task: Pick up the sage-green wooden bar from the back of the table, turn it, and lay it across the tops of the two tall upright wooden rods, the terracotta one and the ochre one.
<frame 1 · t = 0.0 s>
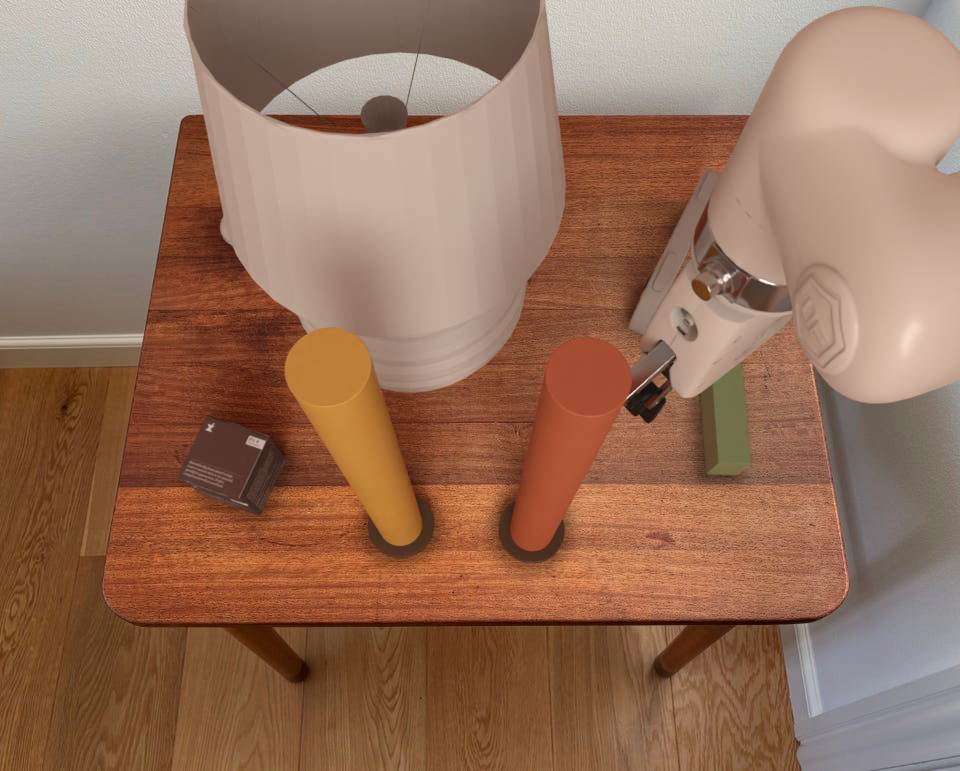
hand: (685, 367, 56), 19 cm above the table, tool pointing down, fingers open, 9 cm apart
ochre rod: (401, 525, 71), on the table
box: (246, 477, 72), on the table
terracotta rod: (531, 530, 70), on the table
green bar: (715, 396, 75), on the table
grey flat slab: (667, 271, 81), on the table
table lamp: (417, 321, 78), on the table
golf ball: (245, 239, 82), on the table
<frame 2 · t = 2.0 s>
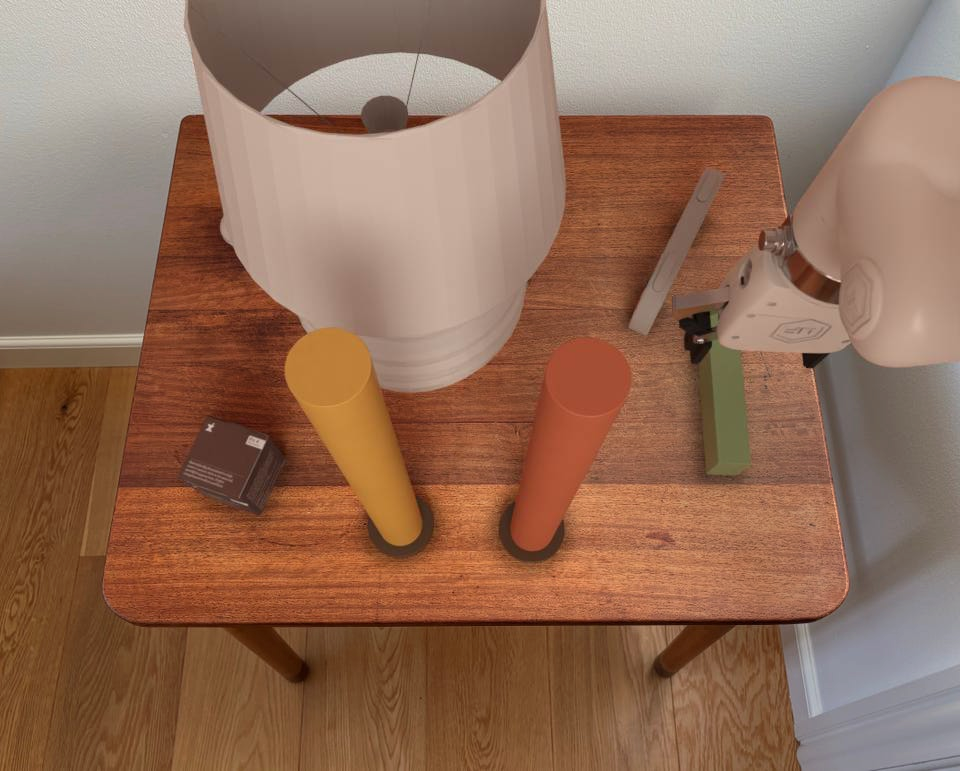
hand: (749, 350, 66), 10 cm above the table, tool pointing down, fingers open, 9 cm apart
nothing on the table moved.
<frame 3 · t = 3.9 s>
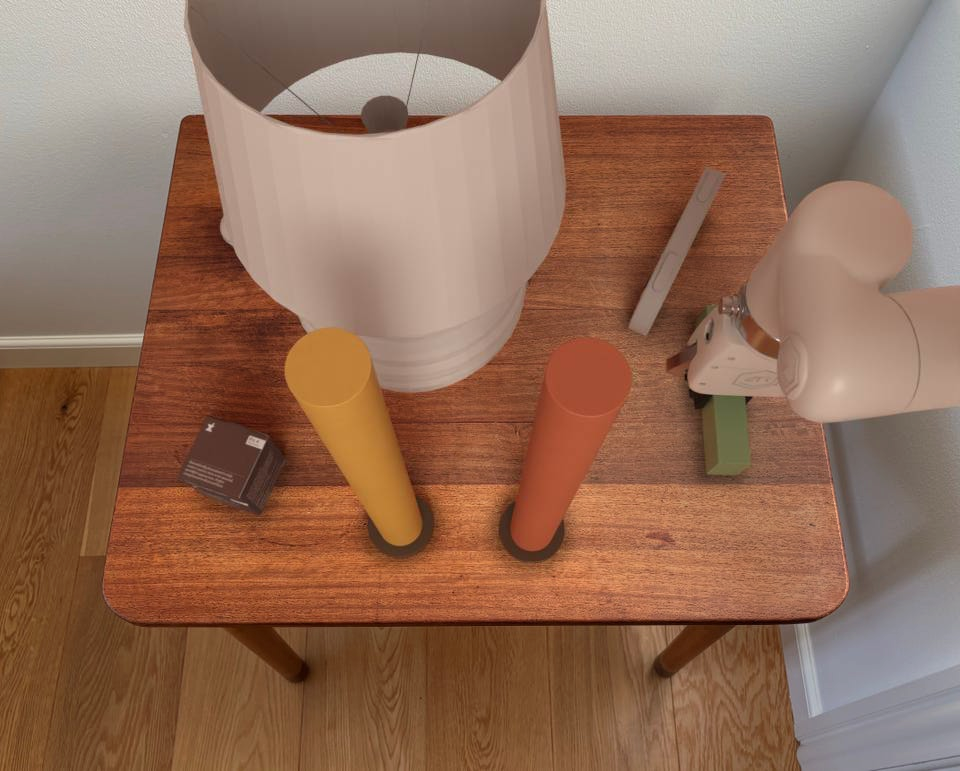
hand: (716, 395, 75), 0 cm above the table, tool pointing down, fingers closed on green bar, 3 cm apart
green bar: (715, 396, 75), on the table, touching gripper
everything else where it was.
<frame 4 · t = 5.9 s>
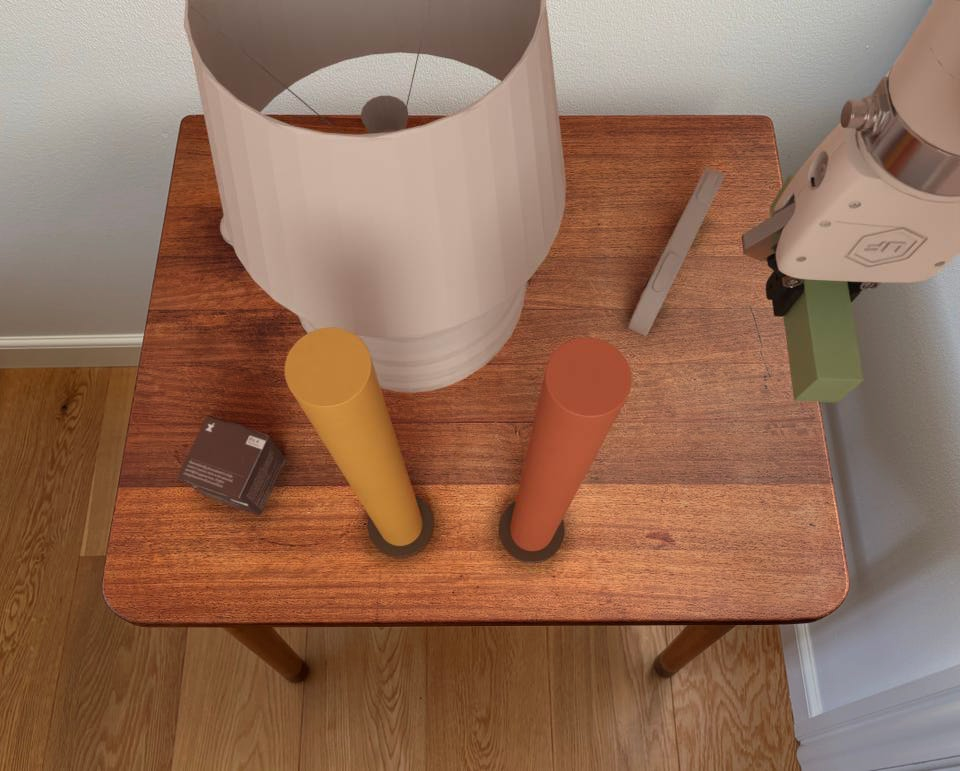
hand: (802, 298, 56), 21 cm above the table, tool pointing down, fingers closed on green bar, 3 cm apart
green bar: (801, 300, 56), point 21 cm above the table, touching gripper
everything else where it was.
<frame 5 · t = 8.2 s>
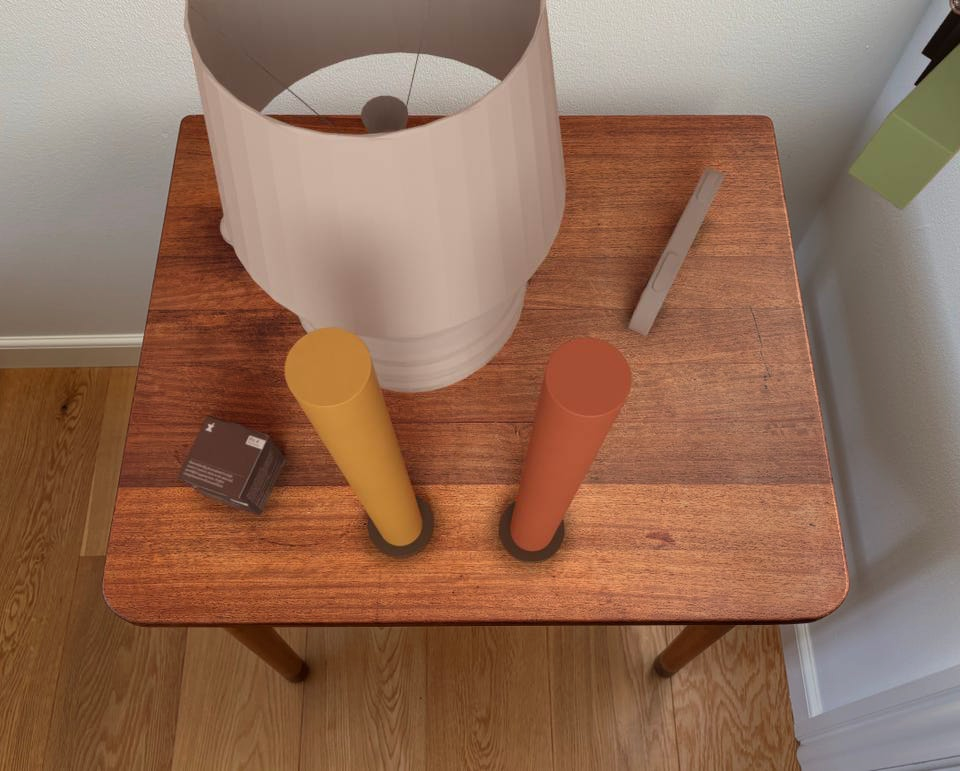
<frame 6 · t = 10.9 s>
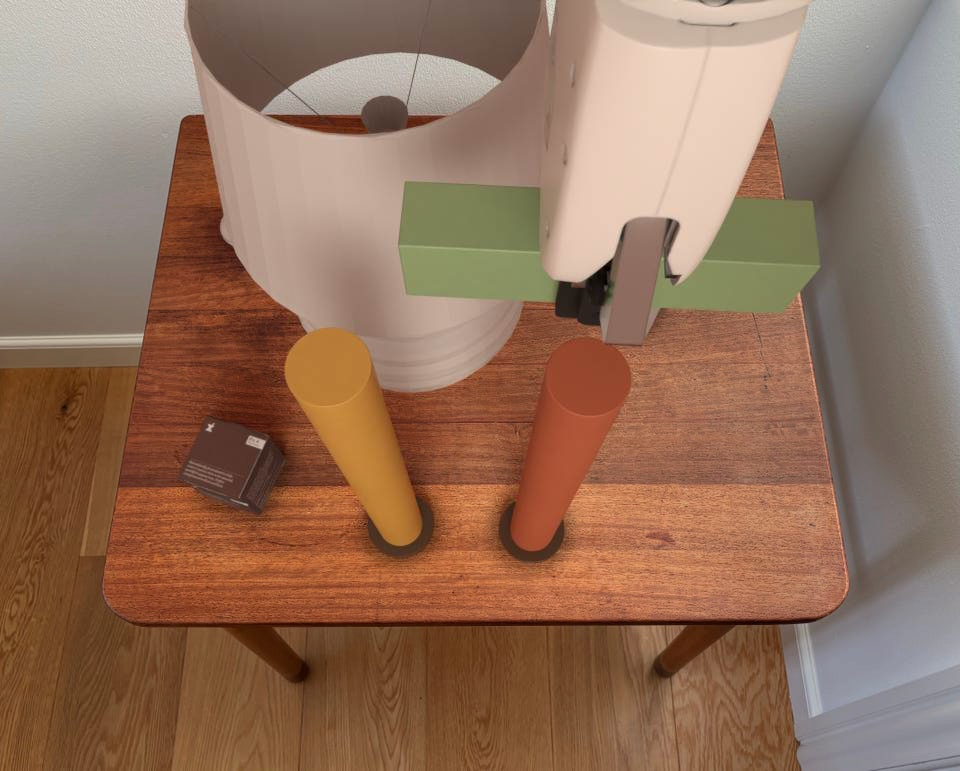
hand: (592, 272, 33), 42 cm above the table, tool pointing down, fingers closed on green bar, 3 cm apart
green bar: (593, 274, 33), point 41 cm above the table, touching gripper
everything else where it was.
when the fingers open (38 cm above the table, at t = 12.7 s): green bar stays where it is, resting on ochre rod, terracotta rod.
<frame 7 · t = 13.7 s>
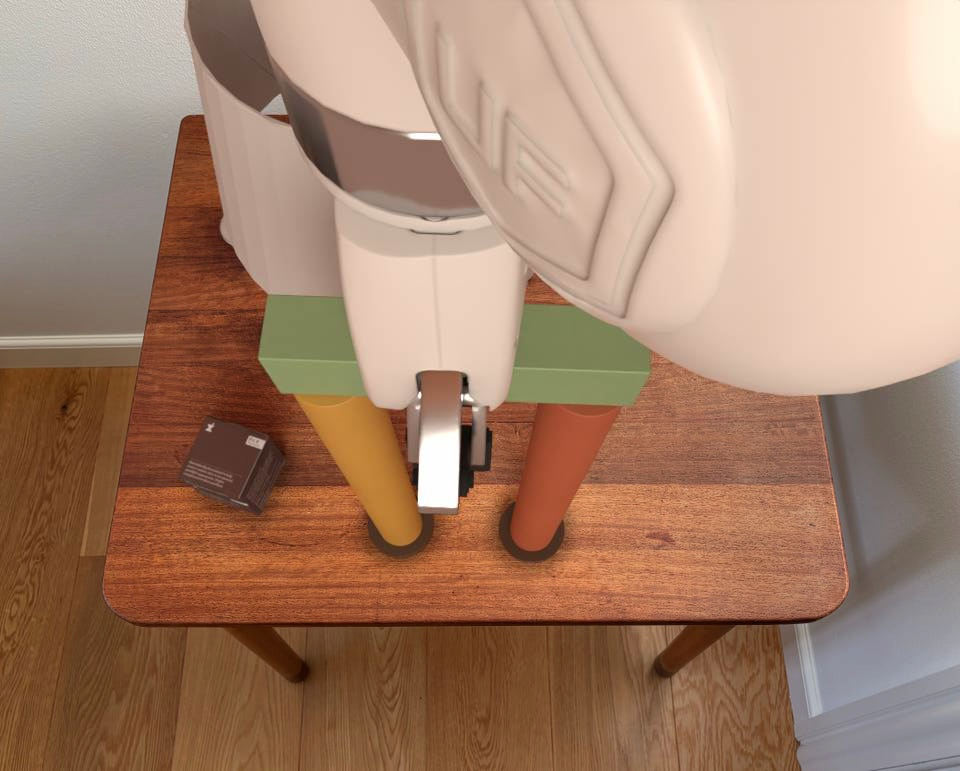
hand: (457, 356, 34), 40 cm above the table, tool pointing down, fingers open, 9 cm apart
green bar: (457, 369, 35), point 38 cm above the table, touching ochre rod, terracotta rod
everything else where it was.
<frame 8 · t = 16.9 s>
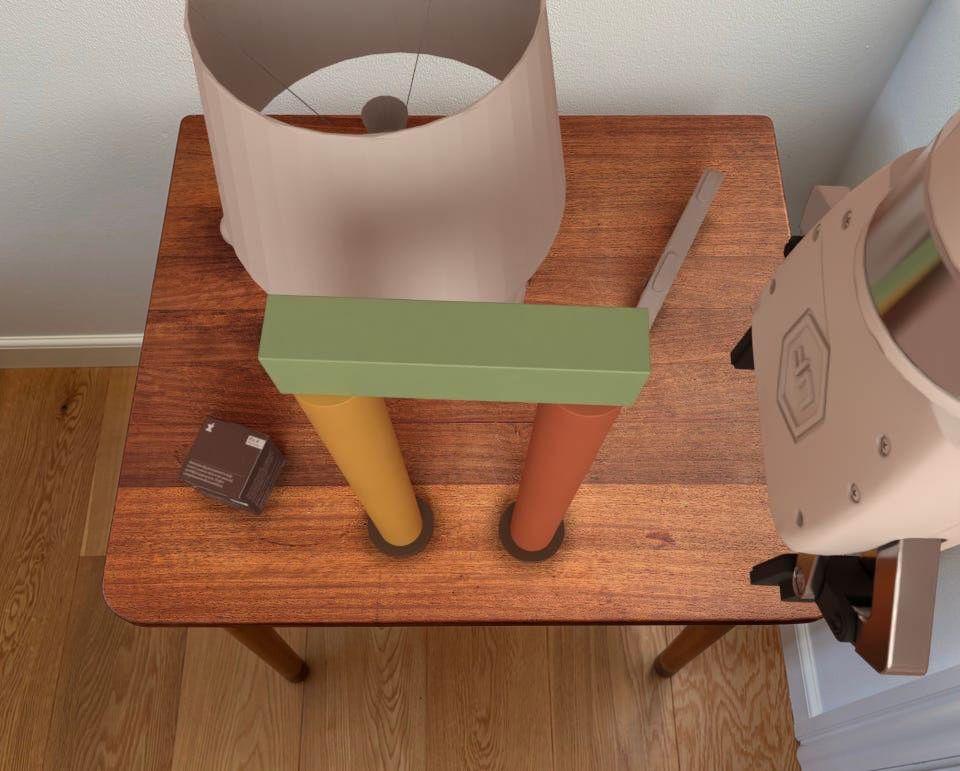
hand: (774, 465, 33), 38 cm above the table, tool pointing down, fingers open, 9 cm apart
nothing on the table moved.
at the end: green bar 0.1 cm from the target spot on the terracotta rod, point 38.0 cm above the terracotta rod's base; green bar tilted 0°; the gripper is holding nothing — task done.
